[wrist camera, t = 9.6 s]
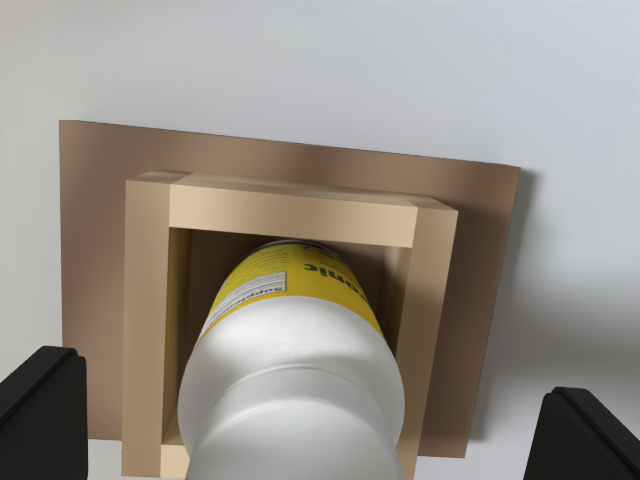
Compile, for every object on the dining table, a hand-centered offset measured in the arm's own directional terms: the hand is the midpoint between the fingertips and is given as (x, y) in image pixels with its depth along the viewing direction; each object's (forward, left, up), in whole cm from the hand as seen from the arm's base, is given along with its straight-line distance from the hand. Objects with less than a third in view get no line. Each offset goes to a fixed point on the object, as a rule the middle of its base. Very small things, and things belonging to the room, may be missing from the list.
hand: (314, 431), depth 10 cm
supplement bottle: (0, +1, -9) cm, 9 cm away
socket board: (+1, +1, -10) cm, 10 cm away
